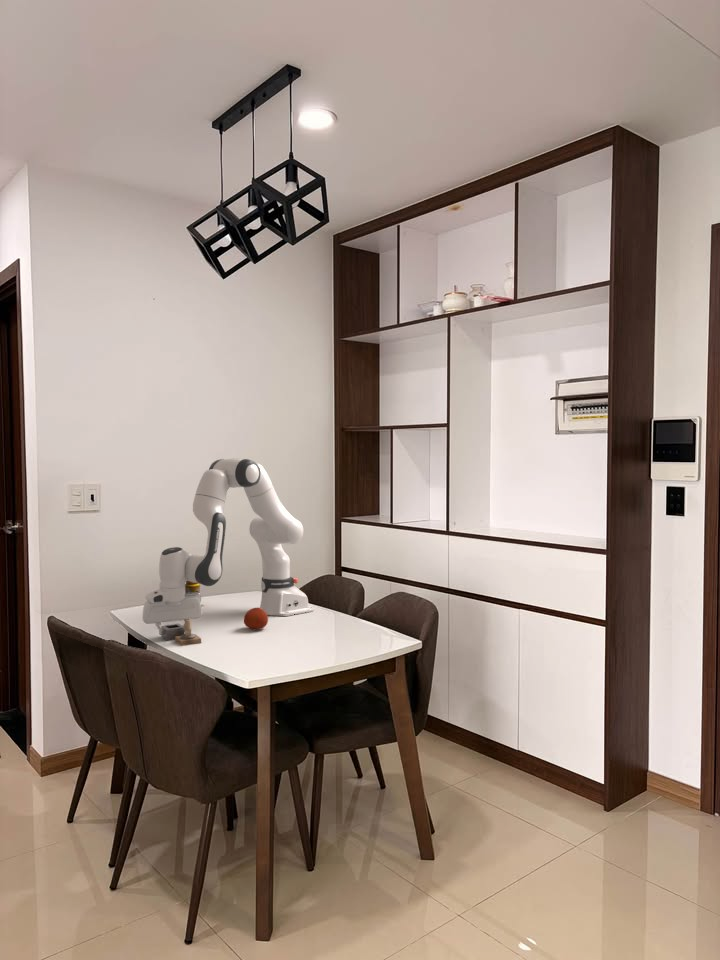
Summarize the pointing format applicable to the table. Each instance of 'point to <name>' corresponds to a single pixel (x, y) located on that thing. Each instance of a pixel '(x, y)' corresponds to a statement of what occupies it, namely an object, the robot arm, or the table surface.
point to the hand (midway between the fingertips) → (172, 633)
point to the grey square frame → (172, 631)
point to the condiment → (192, 587)
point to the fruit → (256, 619)
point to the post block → (187, 636)
